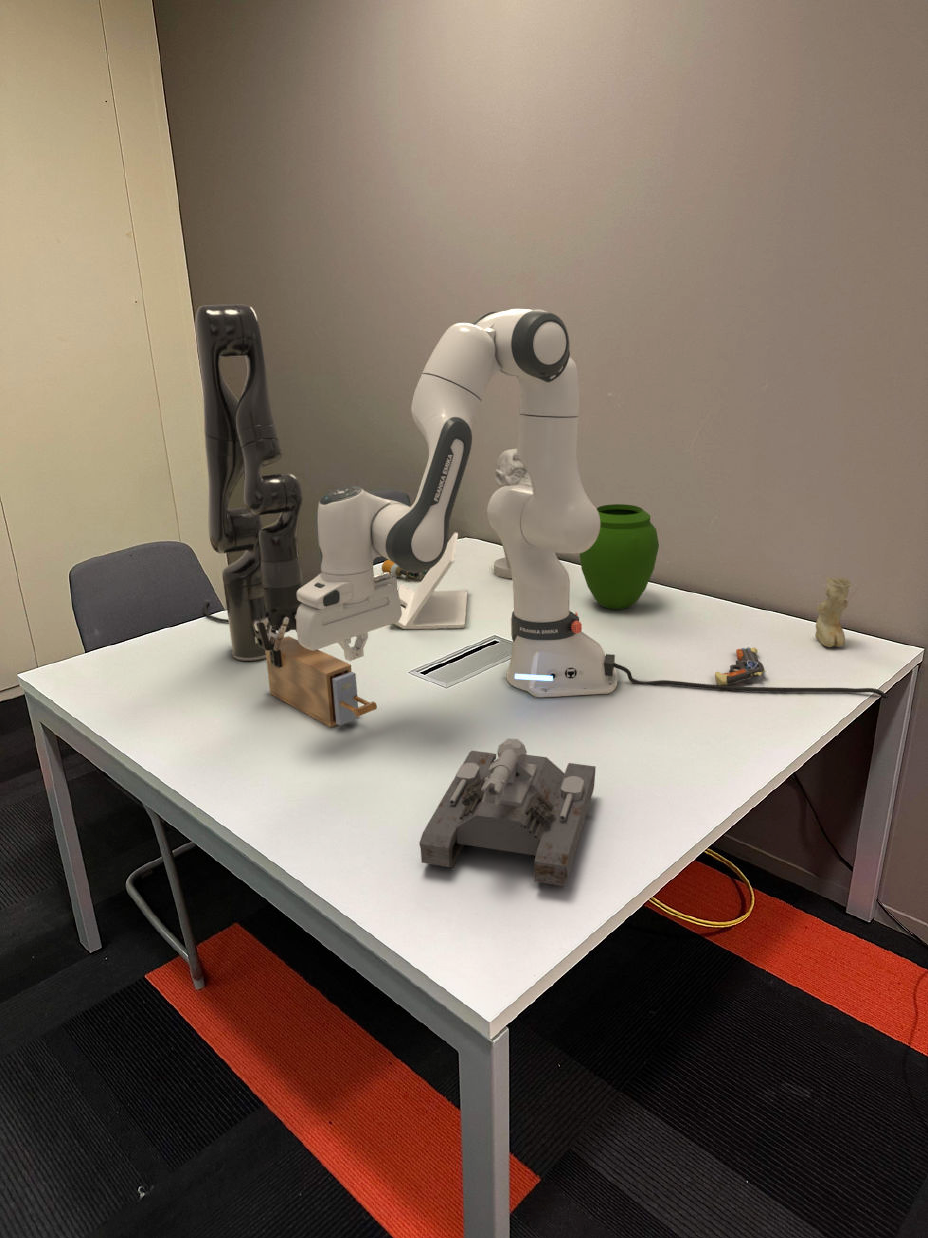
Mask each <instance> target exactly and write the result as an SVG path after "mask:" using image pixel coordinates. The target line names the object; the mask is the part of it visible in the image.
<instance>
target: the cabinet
mask: <svg viewBox="0 0 928 1238" xmlns="http://www.w3.org/2000/svg"><path fill="white" fill-rule="evenodd" d="M279 650H281V660H282V667H280V668H277V667H275V666H274V665H273V664H271V661H270V652H269V650H268V651H267V650H265V652H266V658H265V659H266V660H265V661H266V668H267V677H268V685H269V694H270V695H271V696H273V697H274V698H277V699H278V700H280V701H282V702H284V703H285V704H287V705H289V706H291V707H293V708H295V709H296V710H298V711H300V712H302V713H303V714H305V715H307V716H309V717H311V718H312V719H314V720H317V722H319V723H322V724H323V725H324V726H327V727H329V728H334V727H336V726H339V725H338V724H336V719H334V717H333V706H332V694H331V683H330V676H332V675H335V674H338V673H341V672H343V671H344V672H345V674H347V673H350V672H352V664H350V663H349V662H347V661H344V660H341V659H339V658H337V657H335V656H333V655H331V654H328V653H326V652H325V651H322V650H320V649H317V650H314V651H311V650H309V649H307V648H305V647H303V646H302V645H301V644H300V643H299V642H298V639H296V638H293V637H291V636H289V635H288V636H284V638H283V639H282V640H281V643H280V647H279Z"/></svg>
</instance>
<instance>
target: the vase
mask: <svg viewBox="0 0 928 1238" xmlns="http://www.w3.org/2000/svg"><path fill="white" fill-rule="evenodd" d="M596 509H597V511H598V513H599V516H600V532H599V535H598V537H597V539H596V541H595V543H594V544H593V545H592V546H591V547H590V548H589V549H588V550H587V551H585V552H583V553H578V554H579V562H580V569H581V571H582V574H583V577H584V580H585V583H586V585H587V588H588V590H589V591H590V594H592V597H593V598H594V600H595V601H596V602H597V603H598V604H599V605H600V606H602V607H604V608H606V609H609V610H625V609H628V608H630V607H632V606H634V604H636V602H638V601H639V599H640V597H641V596H642V595H643V593H644V592H645V590H646V588H647V586H648V584H649V581H650V579H651V577H652V574H653V572H654V570H655V566H656V562H657V557H658V552H659V548H660V544H659V543H660V542H659V537H658V531H657V528H656V527H655V526H654V524H653V523H652V522H651V515H650V514H649V512H647V511H645V510H644V509H643V508H642V507H641V506H638V505H633V504H622V503H621V504H619V503H616V504H615V503H614V504H604V505H601V506H598V507H596Z"/></svg>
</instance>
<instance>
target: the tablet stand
mask: <svg viewBox="0 0 928 1238" xmlns="http://www.w3.org/2000/svg"><path fill="white" fill-rule="evenodd" d="M458 537H459V533H458V532H456V531H455V532H453V534H452V535H451V537H450V539H448V543H447V547H446V550H445V553H444V555H443V556H442V558H441V559H440V561H439V562H438V563H437V564H436V565H435V566H433V567H432V568H430V569H429V570H427V572H426V573H425V575H424V576H423V579H422V580H421V581H420V583H419V584H418V585H417V587H416V589H415V590H412V589H410V588H409V587H407V586H406V585H403V584H400V585H399V586H398V587H397V590H398V593H399V598H400V603H401V610H402V616H401V618H400V620H399V621H398V622H396V623H393V624H394V625H396V626H398V627H399V628H401V629H402V630H426V629H427V630H429V629H430V630H431V629H435V630H436V629H437V630H438V629H464V628H465V627H466V618H467V617H466V616H467V605H468V591H467V590H436V589H437V587H438V585H440V582H441V581H442V580H443V578H444V577H445V575H446V574H447V573H448V571H449V570H450V569H451V567H452V566H453V564H454V562H455V558H456V553H457V545H458ZM402 605H403V606H405V607H403V606H402Z"/></svg>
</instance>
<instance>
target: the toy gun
mask: <svg viewBox="0 0 928 1238" xmlns="http://www.w3.org/2000/svg"><path fill="white" fill-rule="evenodd" d="M735 652H736V653H735V654H736V658H737V659H738V660H735V664H731V665H729V670H728V672H720V671H715V672H714V679H715V682H716V685H724V686H729V685H731V684H735V683H738V682H741V681H744V680H745V681H746V680H748V679H752V678H753V677H756V676H759V677H761V676H762V674H763V673H764V672H766V669H765V667H764V664H763V663H762V662H761V661H760V660H759V658H758V655H757V654H758V653H759V651H758V648H757V647H746V648H745V647H742V648H737V649H736V650H735Z"/></svg>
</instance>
